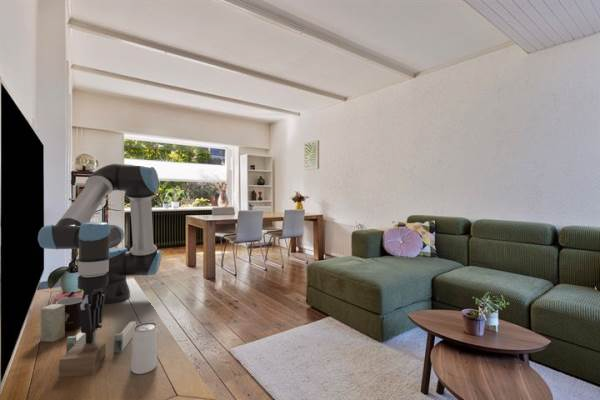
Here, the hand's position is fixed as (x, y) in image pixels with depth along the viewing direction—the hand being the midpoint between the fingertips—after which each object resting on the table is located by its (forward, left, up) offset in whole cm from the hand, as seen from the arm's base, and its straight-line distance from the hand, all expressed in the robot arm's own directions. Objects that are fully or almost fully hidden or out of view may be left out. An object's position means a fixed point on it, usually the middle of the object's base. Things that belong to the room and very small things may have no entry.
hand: (91, 351), depth 88 cm
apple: (-35, -23, -2) cm, 42 cm away
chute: (-9, 0, -2) cm, 9 cm away
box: (-15, -18, -2) cm, 24 cm away
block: (+5, 0, -2) cm, 5 cm away
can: (+8, +17, -2) cm, 19 cm away
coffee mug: (-24, -18, -2) cm, 30 cm away
